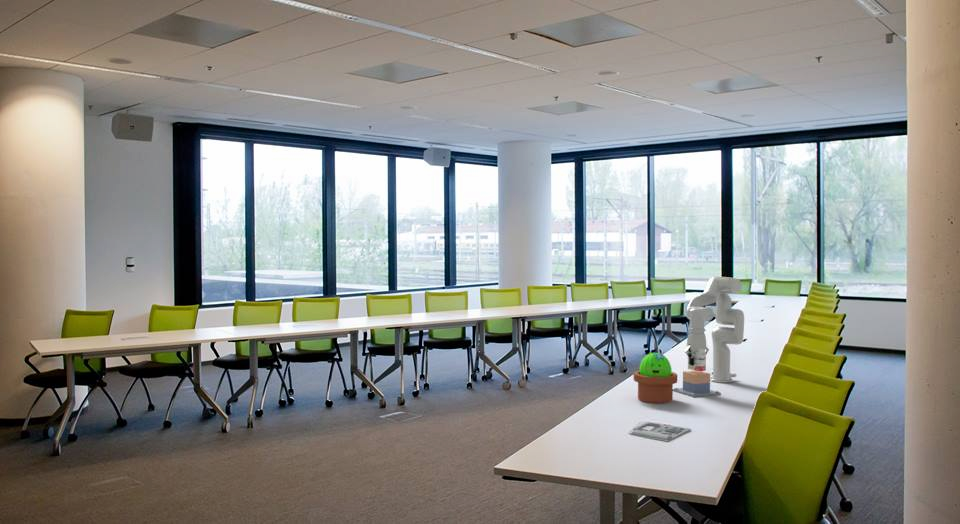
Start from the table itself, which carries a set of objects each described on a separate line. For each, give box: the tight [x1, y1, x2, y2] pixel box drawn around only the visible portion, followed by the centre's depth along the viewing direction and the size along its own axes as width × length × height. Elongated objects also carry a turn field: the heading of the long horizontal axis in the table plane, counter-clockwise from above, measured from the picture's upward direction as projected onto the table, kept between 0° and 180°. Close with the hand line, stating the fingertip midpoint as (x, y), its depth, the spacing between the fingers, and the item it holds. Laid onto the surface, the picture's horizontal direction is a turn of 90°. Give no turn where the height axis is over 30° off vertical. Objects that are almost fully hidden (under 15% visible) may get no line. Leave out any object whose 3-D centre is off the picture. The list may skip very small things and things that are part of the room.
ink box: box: [687, 349, 707, 372], centre depth 394 cm, size 8×5×12 cm, turn 39°
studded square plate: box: [673, 370, 722, 398], centre depth 394 cm, size 18×18×11 cm
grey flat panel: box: [629, 421, 692, 443], centre depth 314 cm, size 23×3×20 cm
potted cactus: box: [633, 352, 678, 404], centre depth 377 cm, size 22×22×25 cm
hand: (696, 364), depth 394 cm, fingers closed on ink box, 6 cm apart
